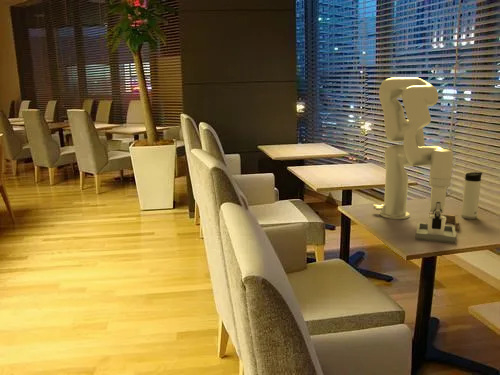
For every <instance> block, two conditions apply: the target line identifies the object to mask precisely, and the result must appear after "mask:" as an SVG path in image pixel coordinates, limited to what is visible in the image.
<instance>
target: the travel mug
mask: <svg viewBox="0 0 500 375" xmlns="http://www.w3.org/2000/svg"><path fill="white" fill-rule="evenodd" d="M482 175H483V172H476V171H473V172H467V173H465V178H464V185H463V195H462V206H461V218H464V219H466V220H476V219H477V218H478V212H479V202H480V201H479V200H480V194H481V184H482Z"/></svg>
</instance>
